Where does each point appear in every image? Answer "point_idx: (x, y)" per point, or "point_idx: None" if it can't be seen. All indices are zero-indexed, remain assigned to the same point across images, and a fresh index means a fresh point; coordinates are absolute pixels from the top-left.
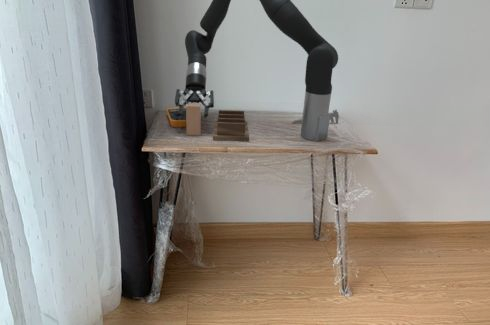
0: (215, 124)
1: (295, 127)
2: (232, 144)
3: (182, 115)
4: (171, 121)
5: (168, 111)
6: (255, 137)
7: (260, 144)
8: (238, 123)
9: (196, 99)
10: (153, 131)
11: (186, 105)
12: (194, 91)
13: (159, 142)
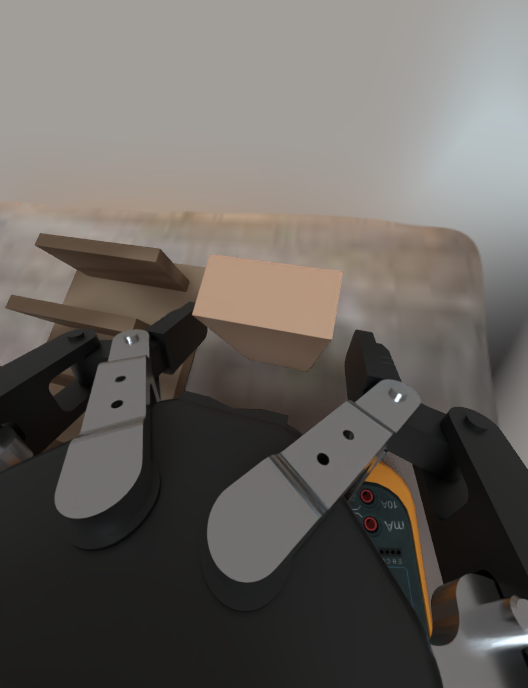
0: None
1: None
2: (160, 237)
3: (352, 342)
4: (403, 481)
5: None
6: (62, 293)
7: (76, 233)
8: (66, 240)
9: (205, 405)
10: (483, 411)
11: (338, 289)
12: (163, 581)
13: (430, 269)
